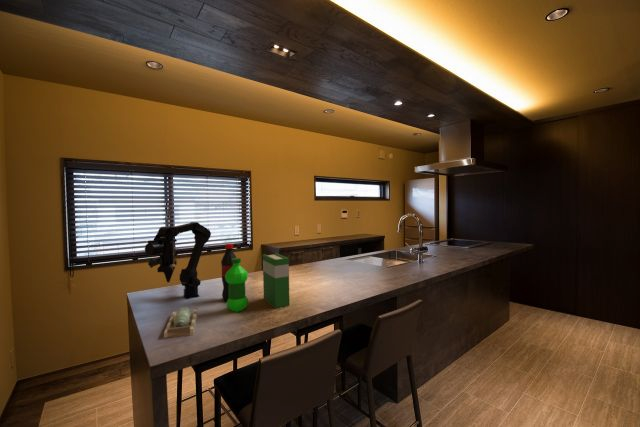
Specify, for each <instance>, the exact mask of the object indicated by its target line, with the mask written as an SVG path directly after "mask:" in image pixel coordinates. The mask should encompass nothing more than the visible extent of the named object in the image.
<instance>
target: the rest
mask: <svg viewBox="0 0 640 427" xmlns="http://www.w3.org/2000/svg"><path fill="white" fill-rule="evenodd" d="M176 314H177V310H173V311H172V314H171V316H170V318H169V319H168V321H167V322H168V323H167V325H166V327H165V329H164V332H163V339H169V338H176V337H183V336H187V335H190V336H193V335H192V334H195V328H196V324H197V323H196V322H197V318H198V314H199V308H194V311H193V312H191V314H190V319H189V323H188V325H187V326H183V327H175V326H174V320H175V317H176Z"/></svg>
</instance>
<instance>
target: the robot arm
mask: <svg viewBox="0 0 640 427" xmlns="http://www.w3.org/2000/svg"><path fill="white" fill-rule="evenodd" d="M190 231H191V233H192V234H193V235H194V237H193V238H194V245H193V249H192V251H191V255H190V257H189V260H188V262H187V263H188V264H187V266H186V267H185V268H182V269H181V271H180V274H179V281H180V284H181V286H182V287H183V297H184V298H186V299H192V298H197V297H200V295H199V286H200V285H201V284H202V283H201V282H202V281H201V280H200V279H199V278H198V270H197V268H198V265H199V262H200V259H201V256H202V252H203V250H204V247H205V244H207V242H209V240H210V238H211V236H212V232H211V230H210V228H209V229H208V228H207V227H206V226H204V225H202V224H200V223H199V222H197V221H191V222H188V223H184V224H183V223H182V224H180V225H176V226H161V227H159V229H158V231H157V233H156V235H155V236H154V238H153V239H152V240H148V241H147V243H146V244H145V246H144V251H145V253H146V255H148V256H152V255H156V254H159V256H158V257H156V258H150V259H149V261H148V262H147V263H148V264H147V265H148V266H149V268H151V269H152V268H154V267H155V266H158V265H159V266H158V267H157V270H156V271H157V273H163V274H164V277H165V280H166V282H167V283H170V282H171V279H172V276H173V274H174V271H175V270H176V265H178V260H177V259H176V258H175V250H174V247H175V245H174V243H175V242H177V241H178V240H177V239H176V238H175V237H177V236H178V235H179V234H183V233H186V232H190ZM174 265H175V266H174Z"/></svg>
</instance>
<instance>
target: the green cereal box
mask: <svg viewBox="0 0 640 427" xmlns="http://www.w3.org/2000/svg"><path fill="white" fill-rule="evenodd" d="M262 272H263V273H262V276H263V278H262V279H263V280H262V281H263V299H264V300H265V301H266V302H267V303H268V302H269V303H268V304H269V305H271V306H272V307H273V308H274V307H275V308H277V309H281V308H280V307H282V308H286V307H290V306H289V305H290V258H289V257H287V256H285V255H281V254H279V253H276V252H274V253H273V254H269V255H268V254H265V253H264V254H262ZM285 306H286V307H285ZM275 308H274V309H275Z"/></svg>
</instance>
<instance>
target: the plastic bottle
mask: <svg viewBox="0 0 640 427" xmlns="http://www.w3.org/2000/svg"><path fill="white" fill-rule="evenodd" d="M232 263H233V266H232V267H231V268H230V269H229V270H228V271H227V272H226V275H225V280H226V282H227V283H228V296H229V298H228V300H227V301H226V306H227V308H228V309H229V310H230V311H232V312H236V313H240V312H242V311H243V310H244V309H245V308H246V307H247V305H248V303H249V302H248V298H247V295H246V281H247V279H248V275H249V274H248V271H247V269H245V268H244V267H243V266H241V263H242V260H241V257H236V258H233V259H232ZM239 311H240V312H239Z"/></svg>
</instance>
